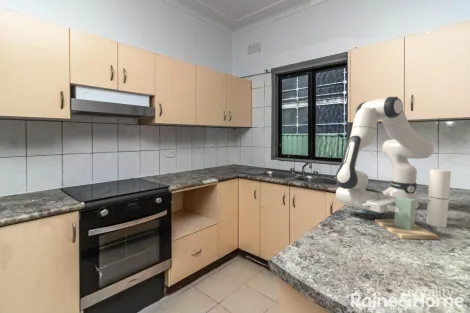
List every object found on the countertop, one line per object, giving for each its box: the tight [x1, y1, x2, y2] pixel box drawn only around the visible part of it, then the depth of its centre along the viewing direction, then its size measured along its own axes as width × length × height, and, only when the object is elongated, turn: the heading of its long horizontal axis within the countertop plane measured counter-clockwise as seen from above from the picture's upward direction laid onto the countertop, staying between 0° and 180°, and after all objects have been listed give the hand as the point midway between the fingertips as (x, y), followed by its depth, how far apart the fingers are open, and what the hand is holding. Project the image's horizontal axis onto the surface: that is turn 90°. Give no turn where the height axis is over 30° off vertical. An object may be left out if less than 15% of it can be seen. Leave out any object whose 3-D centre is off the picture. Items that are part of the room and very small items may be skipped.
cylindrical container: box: [425, 168, 452, 228], centre depth 107 cm, size 7×7×25 cm
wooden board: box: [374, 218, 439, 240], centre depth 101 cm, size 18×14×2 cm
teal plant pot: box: [360, 187, 384, 216], centre depth 124 cm, size 10×10×12 cm
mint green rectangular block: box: [393, 197, 416, 230], centre depth 100 cm, size 6×6×12 cm
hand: (404, 208), depth 100 cm, fingers open, 8 cm apart
